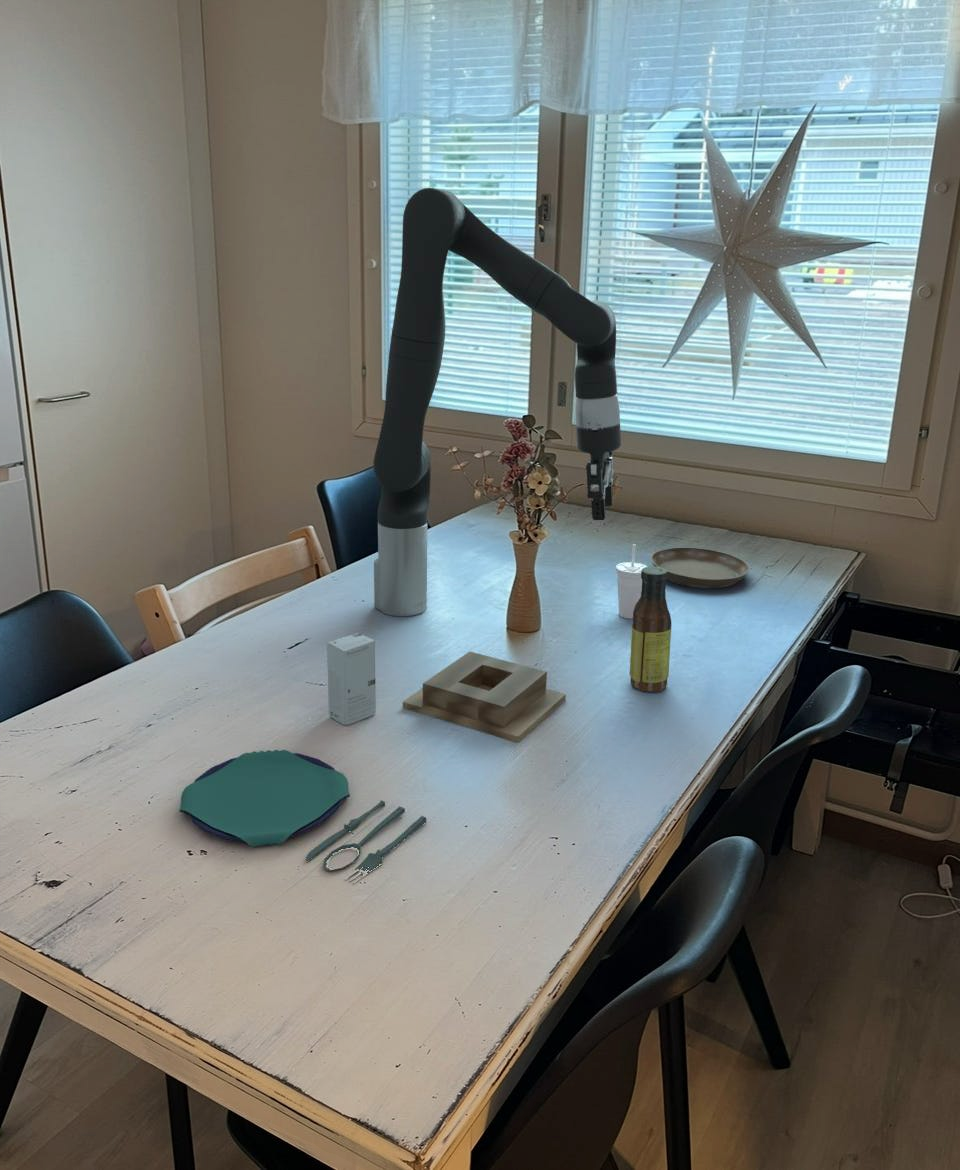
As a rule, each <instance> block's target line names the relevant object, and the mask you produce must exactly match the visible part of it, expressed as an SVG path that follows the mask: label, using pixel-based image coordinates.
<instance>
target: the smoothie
mask: <svg viewBox="0 0 960 1170" xmlns="http://www.w3.org/2000/svg"><path fill="white" fill-rule="evenodd" d="M636 547H637V544H635V543H633V544H632V549H631V561H629V562H627V561H626V562H620V563H618V564H616V565H615V573H616V578H617V579H616V580H617V581H616V583H617V600H618V603H617V604H618V616H619V617H620V618H623V617H624V619H628V618H629V620H630V619H631V618H632V620H633V610H634V607H635V605H636V603H637V602H638V600H639V599H640V597H641V591H642V578H641V572H642V569H643V568H645V567H649V566H647V565H646V564H643V563H639V562H635V560H636Z"/></svg>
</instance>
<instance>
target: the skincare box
mask: <svg viewBox="0 0 960 1170" xmlns="http://www.w3.org/2000/svg"><path fill="white" fill-rule="evenodd" d="M326 657H327V660H326V662H327V693H328V695H327V696H328V697H327V698H328V716H329V718H331V719H332V718H333V719H332V720H334V719H335V720H334V721H336V722H337V721H338V723H339V722H340V723H339V724H341V725H343V726H348V725H351V724H354V723H356V722H359V721H362V720H365V719H367V718H370V717H372V716H374V715H376V713H377V701H376V700H377V699H376V698H377V696H376V695H377V694H376V692H377V691H376V690H377V689H376V688H377V687H376V640H374V639H373V638H371V637H368V636H366V635H364V634H361V633H360V632H359V633H358V632H357V633H355V634H352V635H348V636H343V637H339V638H338V639H334V640H332V641H327V642H326Z"/></svg>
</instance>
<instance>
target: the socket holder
mask: <svg viewBox="0 0 960 1170" xmlns="http://www.w3.org/2000/svg"><path fill="white" fill-rule="evenodd" d="M547 676H548V671H546V670H542V669H538V668H534V667H530V666H527V665H523V664H520V663H519V664H518V663H515V662H513V661H512V662H511V661H509V660H503V659H500V658H496V657H492V656H489V655H485V654H481V653H477V652H474V651H469V652H467V653H465V654H464V655H461V657H460V658H458V659H457V660H455V661H454V662H452V663H450V664H449V665H448V666H446V667H444V668H443V669H441V670H440V671H439V672H437V673H436V674H434V675H433V676H431V677H430V678H428V679H427V680H426V681H424V682H423V683H422V688H421V689H419V690H418V691H416V692H415V693H413V694H412V695H410V696H409V697H407V698H406V699H405V700H403V701H402V708H403V709H405V710H406V709H407V710H409V711H412V712H415V713H419V714H423V715H426V716H429V717H431V718H436V719H439V720H442V721H446V722H448V723H452V724H455V725H459V726H462V727H465V728H469V729H471V730H475V731H479V732H482V733H485V734H488V735H492V736H495V737H499V738H501V739H505V740H507V741H512V742H515V743H519V742H521V740H523V739H524V738H525V737H526V736H527V735H528V734H529V733H531V731H533V730H534V729H535V728H536V727H537V726H538V725H539V724H540V723H541V722H543V721H544V720H545V719H546V718H548V716H549V715H551V714H552V713H553V712H554V711H555V710H556V709H557V708H558V707H559V706H560V705H562V703H563V702H565V700H566V698H567V697H566V696H567V694H566V693H564V692H560V691H556V690H551V689H548V688H547V680H548V679H547V678H548V677H547Z"/></svg>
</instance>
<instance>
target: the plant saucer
mask: <svg viewBox="0 0 960 1170" xmlns="http://www.w3.org/2000/svg"><path fill="white" fill-rule="evenodd" d="M650 561H651V563H652V564H653V567H661V568H664V569H666V570H667V580H668V581H670V582H673V583H675V584H678V585H683V586H685V585H686V586H685V587H691V588H698V587H699V589H719V588H727V587H730V586H733V585H735V584H736V583H738V582H739V581H741V580H743V579H744V577H746V575H747V574H748V573H749V572H750V566H749V565H748V564H749V563H747V562H746V561H745V560H743V559H741V558H739V557H738V556H735V555H732V554H730V553H727V552H723V551H719V550H714V549H710V548H709V549H707V548H702V547H701V548H699V547H685V546H684V547H682V546H681V547H671V548H665V549H659V550H658V551H655V552H654V553H653V554H652V555H651V557H650Z"/></svg>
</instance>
